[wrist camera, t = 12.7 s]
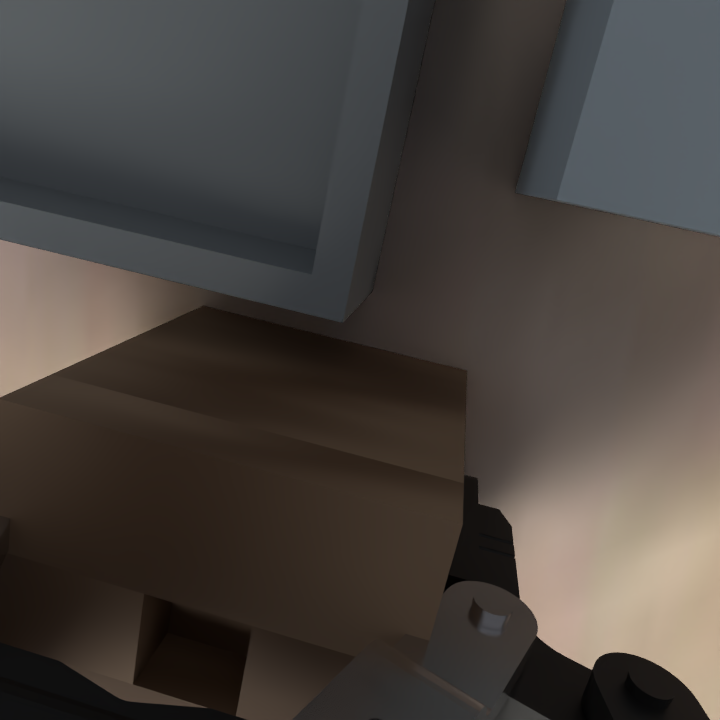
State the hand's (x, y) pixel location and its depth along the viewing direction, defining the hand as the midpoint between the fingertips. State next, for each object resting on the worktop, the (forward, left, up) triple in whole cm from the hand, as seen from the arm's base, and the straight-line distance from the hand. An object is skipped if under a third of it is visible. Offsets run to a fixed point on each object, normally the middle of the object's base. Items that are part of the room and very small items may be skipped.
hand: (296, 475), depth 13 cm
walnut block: (0, 0, -1) cm, 1 cm away
